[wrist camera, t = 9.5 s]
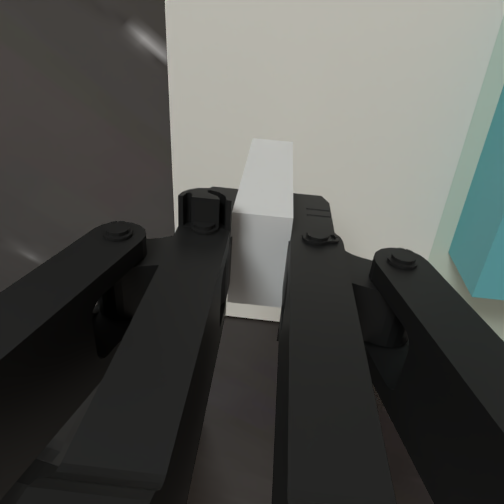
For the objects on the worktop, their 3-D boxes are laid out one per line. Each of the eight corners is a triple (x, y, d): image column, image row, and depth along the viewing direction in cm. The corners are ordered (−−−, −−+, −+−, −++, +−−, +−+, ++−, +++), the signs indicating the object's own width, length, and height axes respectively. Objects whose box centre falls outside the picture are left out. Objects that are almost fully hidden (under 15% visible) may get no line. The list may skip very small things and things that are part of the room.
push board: (677, 361, 26) (683, 368, 26) (180, 305, 28) (178, 310, 28) (1112, -203, 13) (1138, -209, 13) (158, -229, 16) (154, -235, 15)
